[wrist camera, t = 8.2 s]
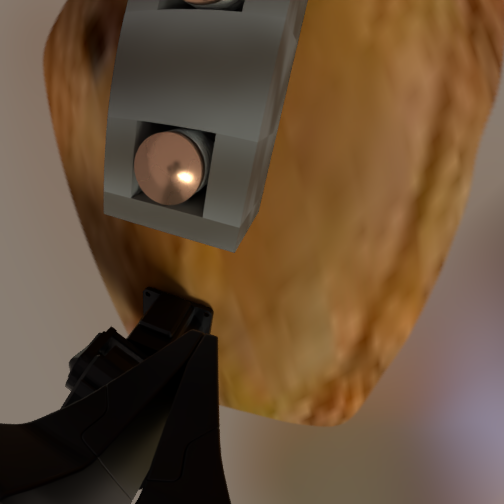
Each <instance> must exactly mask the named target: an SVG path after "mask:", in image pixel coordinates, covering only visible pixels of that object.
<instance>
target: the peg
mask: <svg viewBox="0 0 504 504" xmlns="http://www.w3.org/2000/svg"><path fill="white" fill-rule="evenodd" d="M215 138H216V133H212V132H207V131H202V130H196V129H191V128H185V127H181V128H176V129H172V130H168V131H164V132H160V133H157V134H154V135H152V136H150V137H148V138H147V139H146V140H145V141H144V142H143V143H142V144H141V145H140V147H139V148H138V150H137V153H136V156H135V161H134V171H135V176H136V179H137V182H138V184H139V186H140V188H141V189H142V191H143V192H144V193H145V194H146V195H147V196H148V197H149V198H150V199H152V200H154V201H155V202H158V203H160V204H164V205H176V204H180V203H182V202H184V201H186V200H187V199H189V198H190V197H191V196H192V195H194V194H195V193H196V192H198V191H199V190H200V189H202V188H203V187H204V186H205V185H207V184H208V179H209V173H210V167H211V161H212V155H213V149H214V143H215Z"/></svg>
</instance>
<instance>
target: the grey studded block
mask: <svg viewBox="0 0 504 504" xmlns="http://www.w3.org/2000/svg"><path fill="white" fill-rule="evenodd" d="M307 1H308V0H245V2H244V6H243V10H242V12H236V11H223V10H203V9H197V8H195V7H193V6H192V5H190V4H188V3H187V2H185V1H183V0H128V3H127V7H126V11H125V15H124V19H123V24H122V28H121V33H120V38H119V43H118V48H117V53H116V59H115V65H114V71H113V78H112V85H111V92H110V100H109V109H108V119H107V131H106V145H105V164H104V214H106V215H109V216H113V217H116V218H119V219H123V220H126V221H129V222H133V223H136V224H139V225H143V226H146V227H149V228H153V229H156V230H159V231H163V232H166V233H170V234H173V235H176V236H180V237H183V238H186V239H190V240H193V241H197V242H200V243H203V244H207V245H210V246H213V247H217V248H220V249H224V250H227V251H230V252H234V253H235V251H236V249H237V248H238V246H239V244H240V242H241V241H242V239H243V237H244V236H245V234H246V232H247V230H248V229H249V227H250V225H251V224H252V222H253V220H254V218H255V217H256V215H257V213H258V212H259V207H260V203H261V198H262V194H263V190H264V185H265V181H266V177H267V172H268V168H269V164H270V159H271V155H272V151H273V147H274V142H275V138H276V134H277V129H278V125H279V121H280V116H281V112H282V108H283V103H284V99H285V95H286V91H287V86H288V82H289V78H290V73H291V69H292V65H293V61H294V56H295V52H296V48H297V44H298V39H299V35H300V31H301V26H302V22H303V18H304V14H305V9H306V5H307ZM181 127H185V128H191V129H196V130H202V131H207V132H212V133H216V138H215V143H214V149H213V155H212V161H211V167H210V173H209V179H208V184H207V185H205V186H204V187H203V188H202V189H200V190H199V191H198V192H196V193H195V194H194V195H192V196H191V197H190V198H189V199H187V200H186V201H184V202H182V203H180V204H176V205H164V204H160V203H158V202H155V201H154V200H152V199H150V198H149V197H148V196H147V195H146V194H145V193H144V192H143V191H142V189H141V188H140V186H139V184H138V182H137V179H136V176H135V171H134V161H135V156H136V153H137V150H138V148H139V147H140V145H141V144H142V143H143V142H144V141H145V140H146V139H147V138H148V137H150V136H152V135H154V134H157V133H160V132H164V131H168V130H172V129H176V128H181Z"/></svg>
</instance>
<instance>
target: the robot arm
mask: <svg viewBox="0 0 504 504" xmlns="http://www.w3.org/2000/svg"><path fill="white" fill-rule="evenodd" d="M148 292H149V293H150V294H149V293H148ZM143 312H144V316H143V317H142V318H141V320H140V321H139V323H138V324H137V325H136V327H135V328H134V329H133V330H132V332H131V333H130V334H129V336H128V337H127V338H126V339H125V338H124V337H122V336H121V335H120V334H118V333H117V332H116V330H115V329H114V328H113V327H110V328H109V329H108V330H107V331H106V332H105V331H104V332H103V333H98V335H97V336H96V337H95V338H94V339H93V340H92V342H91V343H90V344H89V345H88V346H87V347H86V348H85V349H83V350H82V351H80V352H79V353H78V354H77V355H75V356H74V357H73V358H72V359H71V360H70V362H69V368H70V373H69V375H68V380H67V382H66V385H65V387H67V388H68V389H69V390H70V391H71V393H70V394H69V396H68V398H67V399H66V401H65V402H64V404H63V406H62V407H61V409H60V410H58V411H56V412H53V413H51V414H49V415H46V416H44V417H42V418H39V419H37V420H34V421H32V422H28V423H23V424H2V423H0V504H131V502H132V500H133V498H134V497H135V495H136V493H137V491H138V490H140V489H142V488H143V489H142V492H141V494H140V496H139V498H138V500H137V502H136V503H135V504H231V501H230V497H229V493H228V488H227V484H226V479H225V475H224V470H223V464H222V458H221V447H220V429H219V384H218V337H217V336H214V335H211V334H210V332H211V326H212V320H213V310H212V309H211V308H209V307H206V306H203V305H200V304H197V303H194V302H191V301H188V300H185V299H182V298H179V297H176V296H173V295H170V294H167V293H165V292H162V291H159V290H156V289H153V288H151V287H146V288H145V290H144V291H143ZM206 312H207V313H208V314H207V313H206Z"/></svg>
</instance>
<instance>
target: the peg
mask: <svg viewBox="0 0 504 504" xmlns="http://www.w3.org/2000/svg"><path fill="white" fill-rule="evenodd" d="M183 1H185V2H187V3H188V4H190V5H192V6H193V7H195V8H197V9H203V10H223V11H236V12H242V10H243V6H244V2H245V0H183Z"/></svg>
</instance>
